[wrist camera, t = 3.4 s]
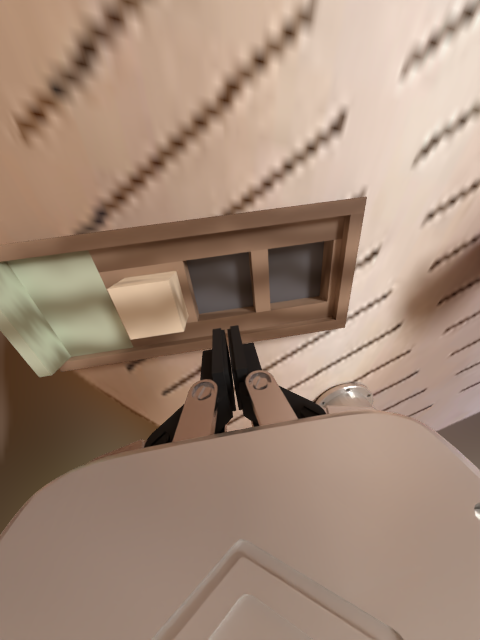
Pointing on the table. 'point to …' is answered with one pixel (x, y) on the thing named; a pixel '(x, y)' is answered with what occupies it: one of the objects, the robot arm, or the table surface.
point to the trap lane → (181, 283)
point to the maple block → (150, 304)
